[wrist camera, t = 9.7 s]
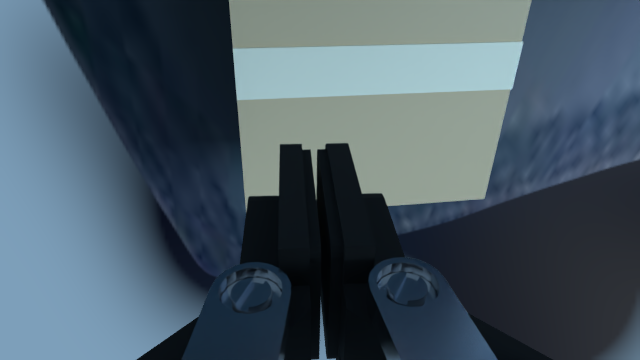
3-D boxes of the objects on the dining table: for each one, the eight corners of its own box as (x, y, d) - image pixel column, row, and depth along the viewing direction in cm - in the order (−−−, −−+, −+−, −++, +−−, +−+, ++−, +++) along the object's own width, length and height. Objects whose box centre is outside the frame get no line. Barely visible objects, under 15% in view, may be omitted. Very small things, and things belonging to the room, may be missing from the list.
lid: (551, -125, 19) (563, -126, 19) (478, 192, 27) (485, 200, 27) (218, -136, 17) (217, -138, 17) (246, 209, 25) (246, 218, 25)
